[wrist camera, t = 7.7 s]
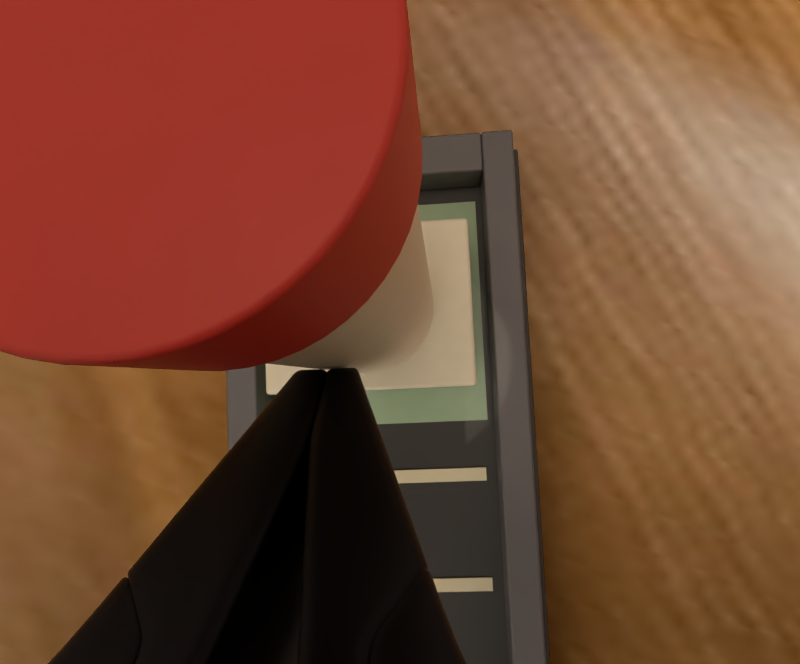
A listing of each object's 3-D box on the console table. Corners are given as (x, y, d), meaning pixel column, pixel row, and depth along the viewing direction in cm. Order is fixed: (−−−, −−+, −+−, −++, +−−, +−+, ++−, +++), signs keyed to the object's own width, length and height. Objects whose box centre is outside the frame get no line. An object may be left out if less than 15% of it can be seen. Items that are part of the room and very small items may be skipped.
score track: (554, 767, 14) (568, 817, 12) (247, 768, 14) (223, 815, 13) (515, 154, 15) (523, 128, 14) (234, 174, 16) (210, 151, 14)
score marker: (473, 385, 14) (591, 397, 3) (286, 393, 14) (-344, 438, 3) (464, 236, 14) (536, -342, 3) (281, 247, 15) (-303, -230, 3)
